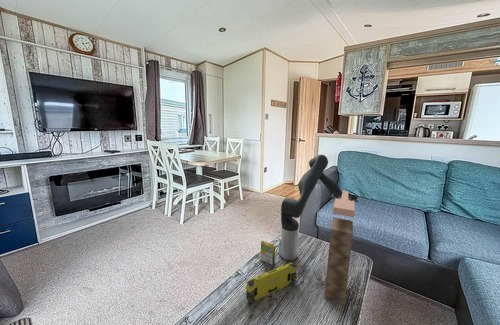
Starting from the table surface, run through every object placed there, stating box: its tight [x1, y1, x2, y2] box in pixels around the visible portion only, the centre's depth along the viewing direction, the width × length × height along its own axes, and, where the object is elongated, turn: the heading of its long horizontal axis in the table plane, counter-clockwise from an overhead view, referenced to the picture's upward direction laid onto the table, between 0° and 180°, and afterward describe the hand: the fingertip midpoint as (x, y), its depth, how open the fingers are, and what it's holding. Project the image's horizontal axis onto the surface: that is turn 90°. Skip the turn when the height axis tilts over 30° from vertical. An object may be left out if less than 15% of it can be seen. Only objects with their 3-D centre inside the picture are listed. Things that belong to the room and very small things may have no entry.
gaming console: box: [245, 262, 297, 304], centre depth 92 cm, size 26×4×10 cm, turn 120°
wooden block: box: [323, 217, 354, 306], centre depth 91 cm, size 8×12×32 cm, turn 155°
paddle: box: [332, 190, 355, 218], centre depth 99 cm, size 8×26×3 cm, turn 155°
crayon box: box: [259, 240, 276, 266], centre depth 113 cm, size 7×3×12 cm, turn 59°
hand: (345, 194), depth 106 cm, fingers closed on paddle, 3 cm apart
